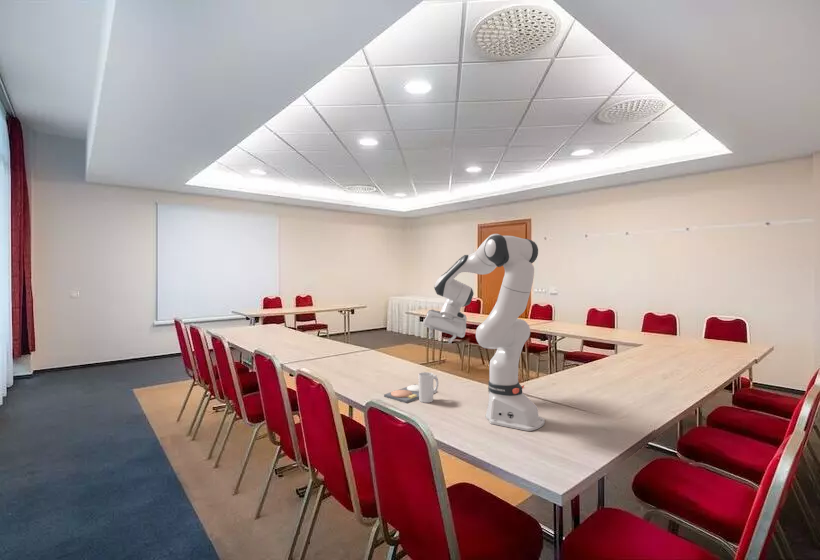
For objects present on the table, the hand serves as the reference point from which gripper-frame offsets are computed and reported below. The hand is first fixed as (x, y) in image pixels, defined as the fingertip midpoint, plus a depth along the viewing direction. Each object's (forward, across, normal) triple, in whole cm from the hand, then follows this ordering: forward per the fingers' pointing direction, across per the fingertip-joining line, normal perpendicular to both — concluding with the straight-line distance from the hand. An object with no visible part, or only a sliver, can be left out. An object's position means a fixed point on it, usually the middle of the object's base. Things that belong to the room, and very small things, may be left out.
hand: (439, 339), depth 182 cm
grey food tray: (+24, -7, +16) cm, 30 cm away
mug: (+26, +3, +10) cm, 28 cm away
